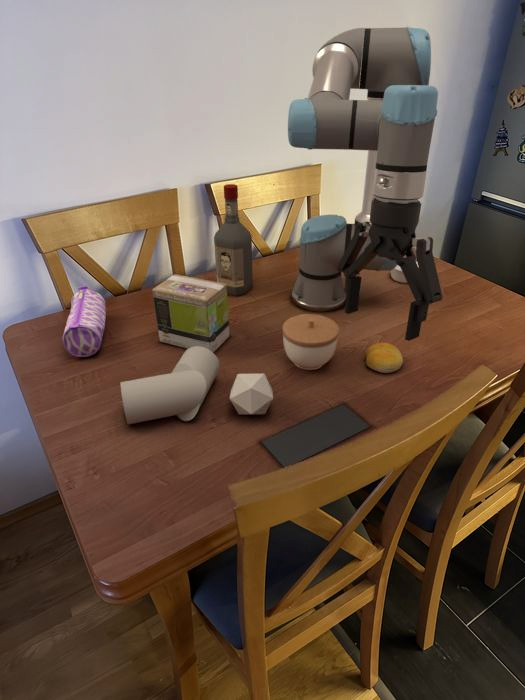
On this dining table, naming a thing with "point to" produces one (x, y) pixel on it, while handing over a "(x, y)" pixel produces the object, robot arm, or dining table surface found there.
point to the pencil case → (85, 323)
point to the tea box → (192, 312)
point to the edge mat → (314, 435)
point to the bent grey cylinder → (172, 389)
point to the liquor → (233, 248)
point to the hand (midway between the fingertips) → (379, 324)
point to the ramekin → (398, 274)
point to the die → (251, 394)
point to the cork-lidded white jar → (310, 340)
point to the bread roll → (384, 358)
